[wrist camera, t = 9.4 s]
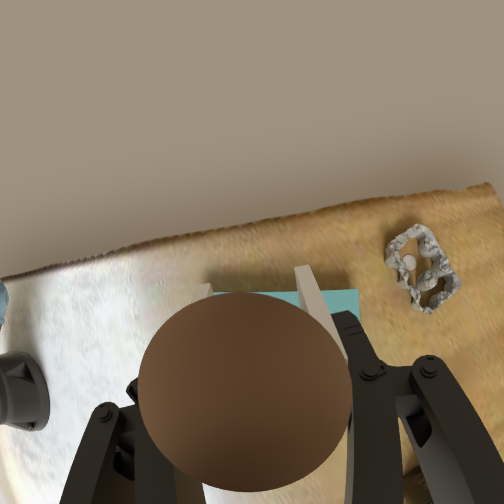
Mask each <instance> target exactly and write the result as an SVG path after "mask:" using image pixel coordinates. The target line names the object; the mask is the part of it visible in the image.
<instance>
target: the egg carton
mask: <svg viewBox="0 0 504 504" xmlns="http://www.w3.org/2000/svg"><path fill="white" fill-rule="evenodd" d="M408 237H410V238H415V237H416V238H417V239H418V240H419V242H420V244H419V245H418V251H419V253H420V255H421V256H423V257H425V258H427V257H430V258H431V259H432V261H433V264H432V270H431V269H428V270H426V271H425V272H424V273H422V274H420V275H419V276H418V277H417V279H416V285H417V286H414V285H408V284H407V280H408V277H409V272H408V270H410V271H412V270H414V269H415V268H416V265H417V262H416V259H415V257H414V256H413V255H410V254H407V255H405V256H404V257H403V260H401V258H400V255H399V252H398V251H397V250H399V249H401V248H402V247H403V246H404V245H405V244H406V243H407V241H408ZM387 245H389V246H388V247H387V248H386V249H385V253H386V259H385V261H384V263H385V265H386V266H387V267H388V268H390V267H391V268H395V269H397V270H398V271H399V273H400V280H399V282H398V284H399V286H400V287H401V288H402V289H408V291H409V292H410V293H411V295H412V296H413V298H414V299H413V302H412V304H411V305H412V307H413V309H414V310H421V312H425V313H426V314H427V316H429V315H430V314H431V313H432V312H433V311H435V310H436V309H437V308H438V307H439V306H441V305H442V304H443V303H444V302H445V301H446V300H447V299H448V298H449V297H451V296H452V295H453V293H454V292H456V291H457V290H458V289H459V287H460V286H461V285H462V282H461V280H460V279H459V278H458V276H457V275H456V273H455V272H454V271H453V270H452V268H451V267H452V266H451V265H450V264H449V259H448V257H447V256H446V255H445V254H444V252H443V250H442V249H441V247H440V246H439V245H438V243H437V241H436V239H435V237H434V235H433V233H432V231H431V230H430V229H429V228H427V227H426V226H423V225H421V224H415V225H414V226H413V227H411V228H409V229H408V230H407V231H406V232H404V233H402V234H400V235H398V236H397V237H395V238H394V240H393V241H391V242H390V243H388V244H387ZM441 277H443V278H444V280H445V281H446V283H445V285H444V291H441V292H439V293H437V294H435V295H433V296H431V297H430V299H429V307H423V308H422V307H421V306H420V305H419V301H420V297H421V294H420V291H423V292H425V291H427V290H429V289H431V288H433V287H434V286H435V285H437V281H438V278H441Z"/></svg>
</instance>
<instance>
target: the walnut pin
mask: <svg viewBox="0 0 504 504" xmlns="http://www.w3.org/2000/svg"><path fill="white" fill-rule="evenodd" d="M138 402H139V407H140V412H141V416H142V419H143V422H144V425H145V427H146V429H147V431H148V433H149V435H150V437H151V438H152V440H153V442H154V443H155V445H156V446H157V448H158V449H159V450H160V451H161V452H162V454H163V455H164V456H165V457H166V458H167V459H168V460H169V461H170V462H171V463H172V464H173V465H174V466H176V467H177V468H178V469H180V470H181V471H182V472H184V473H185V474H187V475H188V476H190V477H192V478H194V479H196V480H197V481H200V482H202V483H204V484H207V485H209V486H212V487H216V488H219V489H223V490H229V491H235V492H260V491H267V490H272V489H277V488H280V487H283V486H286V485H289V484H292V483H294V482H296V481H298V480H300V479H302V478H304V477H305V476H307V475H308V474H310V473H311V472H313V471H314V470H315V469H317V468H318V467H319V466H320V465H321V464H322V463H323V462H324V461H325V460H326V459H327V458H328V457H329V456H330V455H331V453H332V452H333V451H334V450H335V448H336V447H337V445H338V443H339V442H340V440H341V439H342V436H343V434H344V432H345V430H346V427H347V424H348V421H349V417H350V413H351V406H352V383H351V378H350V373H349V369H348V366H347V363H346V360H345V358H344V356H343V354H342V352H341V350H340V348H339V346H338V344H337V343H336V342H335V340H334V339H333V337H332V336H331V334H330V333H329V332H328V331H327V330H326V329H325V328H324V327H323V326H322V325H321V324H320V323H319V322H318V321H317V320H316V319H315V318H313V317H312V316H311V315H310V314H308V313H307V312H305V311H304V310H302V309H300V308H299V307H297V306H295V305H293V304H291V303H289V302H287V301H284V300H282V299H279V298H276V297H272V296H269V295H264V294H258V293H249V292H233V293H223V294H218V295H213V296H210V297H207V298H204V299H201V300H198V301H196V302H194V303H192V304H190V305H188V306H186V307H184V308H183V309H181V310H180V311H178V312H177V313H175V314H174V315H173V316H172V317H171V318H169V319H168V320H167V321H166V322H165V323H164V324H163V325H162V326H161V328H160V329H159V330H158V331H157V332H156V334H155V335H154V337H153V338H152V340H151V341H150V343H149V345H148V347H147V349H146V351H145V353H144V356H143V359H142V362H141V365H140V370H139V375H138Z"/></svg>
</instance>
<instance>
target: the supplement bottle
mask: <svg viewBox="0 0 504 504" xmlns="http://www.w3.org/2000/svg"><path fill="white" fill-rule="evenodd" d="M403 492H404V504H434V502H433V499H432V496H431V494H430V491H429V488H428V485H427V483H426V480H425V477H424V475H423V472H422V469H421V467H420V466H418V467H416V468H414V469H413V470H412V471H410V472H409V473H408V474H407V475H406V476H405V477H404V479H403Z"/></svg>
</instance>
